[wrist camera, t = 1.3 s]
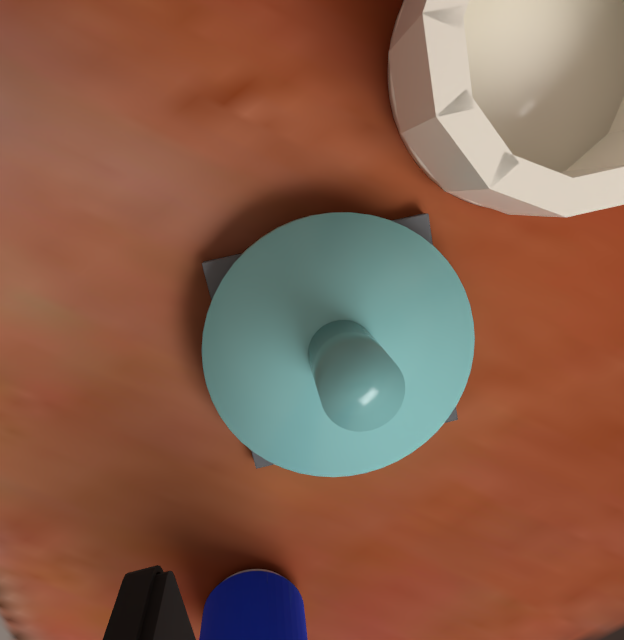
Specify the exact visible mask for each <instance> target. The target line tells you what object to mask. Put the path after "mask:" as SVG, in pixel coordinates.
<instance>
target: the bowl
mask: <svg viewBox="0 0 624 640" xmlns="http://www.w3.org/2000/svg"><path fill="white" fill-rule="evenodd" d="M388 55H389V56H388V89H389V99H390V103H391V108H392V113H393V117H394V120H395V123H396V126H397V129H398V131H399V134H400V136H401V138H402V140H403V142H404V144H405V146H406V148H407V150H408V152H409V153H410V155H411V156H412V158H413V159H414V161H415V162H416V164H417V165H418V166H419V167H420V168H421V169H422V171H423V172H424V173H425V174H426V175H427V176H428V177H429V178H430V179H431V180H432V181H433V182H435V183H436V184H437V185H438V186H439V187H441V188H442V189H443V190H444V191H445V192H448V193H450V194H451V195H453V196H455V197H457V198H459V199H461V200H464V201H466V202H468V203H471V204H475V205H478V206H482V207H486V208H492V209H495V210H497V211H500V212H503V213H506V214H510V215H530V216H550V217H570V216H574V215H579V214H583V213H588V212H592V211H597V210H601V209H605V208H610V207H614V206H619V205H623V204H624V0H404V1H403V3H402V6H401V8H400V11H399V13H398V16H397V18H396V22H395V25H394V29H393V33H392V37H391V42H390V49H389V52H388Z"/></svg>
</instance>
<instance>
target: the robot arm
mask: <svg viewBox="0 0 624 640" xmlns="http://www.w3.org/2000/svg"><path fill="white" fill-rule="evenodd" d="M103 640H196V639H195V636H194V633H193V630H192V627H191V624H190V621H189V618H188V615H187V612H186V609H185V606H184V603H183V600H182V597H181V594H180V591H179V588H178V585H177V582H176V579H175V576H174V574H173V572H172V571H168V572H163V570H162V568H161V567H160V566H158V565H157V566H153V567H149V568H145V569H141V570H138V571H134V572H130V573H127V574H126V575H125V577H124V579H123V581H122V584H121V587H120V590H119V593H118V596H117V599H116V602H115V605H114V608H113V611H112V614H111V617H110V620H109V623H108V626H107V629H106V632H105V635H104V638H103Z"/></svg>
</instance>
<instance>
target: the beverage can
mask: <svg viewBox="0 0 624 640" xmlns="http://www.w3.org/2000/svg"><path fill="white" fill-rule="evenodd" d="M199 640H307V631H306V622H305V613H304V604H303V600H302V597H301V595H300V593H299V591H298V589H297V588H296V587H295V586H294V585H293V584H292V583H291V582H290V581H289V580H287V579H286V578H284V577H283V576H281V575H279V574H278V573H275V572H273V571H270V570H266V569H249V570H244V571H240V572H238V573H235V574H233V575H231V576H230V577H228V578H227V579H225V580H224V581H222V582H221V583H220V584H219V585H218V586H216V587H215V589H214V590H213V591H212V592H211V593H210V595H209V597H208V598H207V600H206V603H205V605H204V610H203V617H202V624H201V631H200V639H199Z"/></svg>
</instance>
